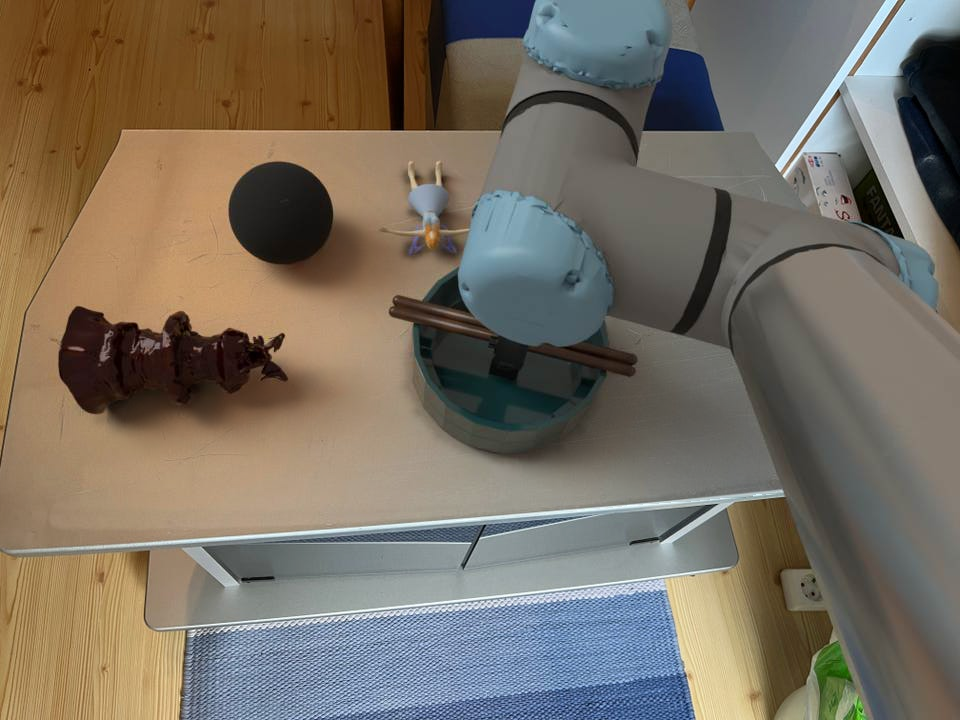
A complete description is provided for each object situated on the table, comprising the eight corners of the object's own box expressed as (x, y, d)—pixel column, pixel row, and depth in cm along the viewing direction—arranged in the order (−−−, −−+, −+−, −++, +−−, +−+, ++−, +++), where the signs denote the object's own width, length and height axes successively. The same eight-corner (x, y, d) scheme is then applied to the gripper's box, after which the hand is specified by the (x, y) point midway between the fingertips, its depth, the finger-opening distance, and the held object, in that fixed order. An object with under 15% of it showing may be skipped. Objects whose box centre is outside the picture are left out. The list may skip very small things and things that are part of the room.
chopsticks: (636, 358, 69) (639, 353, 68) (633, 380, 67) (636, 375, 67) (394, 297, 69) (394, 291, 68) (387, 318, 68) (387, 312, 67)
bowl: (578, 476, 69) (593, 453, 64) (389, 427, 69) (388, 401, 64) (606, 315, 78) (621, 283, 72) (438, 272, 78) (441, 238, 73)
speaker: (354, 258, 78) (349, 195, 69) (267, 299, 74) (249, 239, 66) (307, 193, 81) (297, 125, 72) (222, 230, 78) (200, 163, 69)
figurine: (104, 391, 72) (295, 384, 75) (65, 434, 62) (286, 424, 65) (89, 291, 69) (289, 289, 71) (46, 320, 59) (279, 316, 62)
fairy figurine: (477, 149, 82) (490, 229, 75) (473, 182, 86) (486, 261, 79) (372, 150, 80) (376, 231, 74) (373, 184, 84) (377, 264, 78)
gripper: (521, 108, 55) (486, 284, 76) (472, 278, 47) (449, 421, 68) (620, 133, 55) (558, 302, 75) (587, 306, 47) (528, 441, 68)
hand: (506, 358), depth 72 cm, fingers open, 3 cm apart
